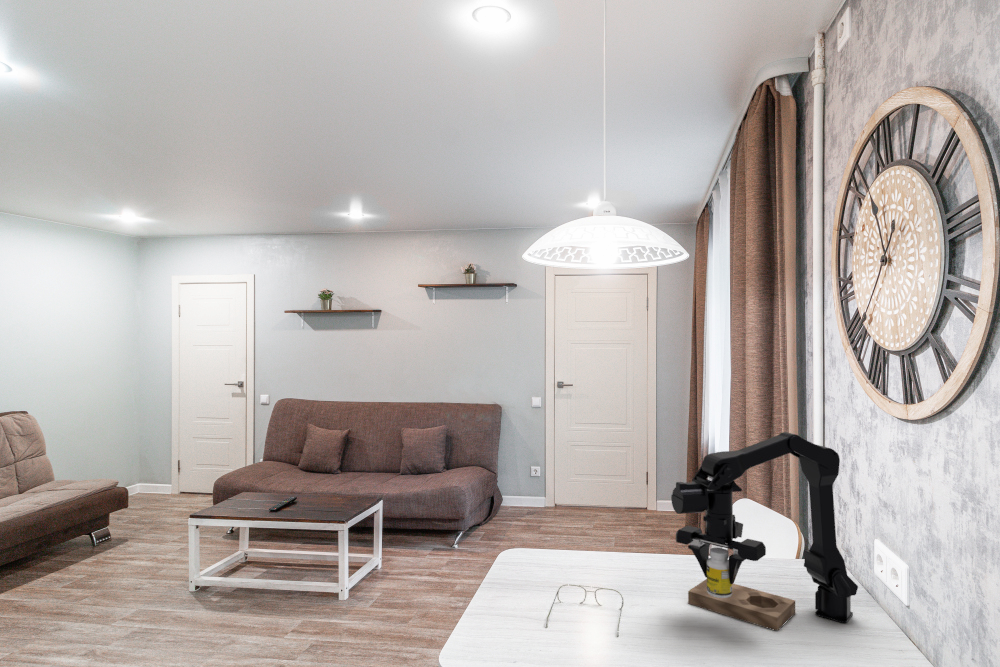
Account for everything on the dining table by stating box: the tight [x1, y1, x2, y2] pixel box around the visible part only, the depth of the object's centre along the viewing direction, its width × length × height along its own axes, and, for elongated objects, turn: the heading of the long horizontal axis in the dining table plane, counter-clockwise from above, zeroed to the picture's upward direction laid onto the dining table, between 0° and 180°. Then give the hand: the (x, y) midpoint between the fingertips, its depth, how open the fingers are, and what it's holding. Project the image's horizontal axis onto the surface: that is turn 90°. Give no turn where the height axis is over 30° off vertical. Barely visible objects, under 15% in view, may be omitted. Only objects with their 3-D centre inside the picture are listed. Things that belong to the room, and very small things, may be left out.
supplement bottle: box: [706, 547, 732, 598], centre depth 140 cm, size 5×5×10 cm
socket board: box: [687, 578, 796, 631], centre depth 149 cm, size 21×12×3 cm, turn 47°
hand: (719, 580), depth 140 cm, fingers closed on supplement bottle, 5 cm apart
